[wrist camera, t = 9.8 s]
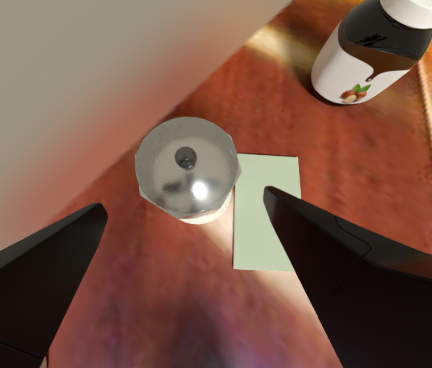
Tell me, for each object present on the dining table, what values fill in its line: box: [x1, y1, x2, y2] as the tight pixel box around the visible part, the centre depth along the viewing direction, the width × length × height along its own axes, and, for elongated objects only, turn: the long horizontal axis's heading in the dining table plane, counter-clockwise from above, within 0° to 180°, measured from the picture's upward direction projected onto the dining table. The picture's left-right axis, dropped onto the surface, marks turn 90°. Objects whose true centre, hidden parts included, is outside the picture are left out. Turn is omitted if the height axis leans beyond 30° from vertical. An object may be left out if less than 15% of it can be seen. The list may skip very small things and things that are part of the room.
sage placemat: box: [233, 154, 301, 271], centre depth 20 cm, size 15×9×1 cm, turn 177°
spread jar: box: [311, 0, 432, 106], centre depth 20 cm, size 12×11×12 cm
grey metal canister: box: [135, 117, 242, 219], centre depth 15 cm, size 7×7×11 cm
